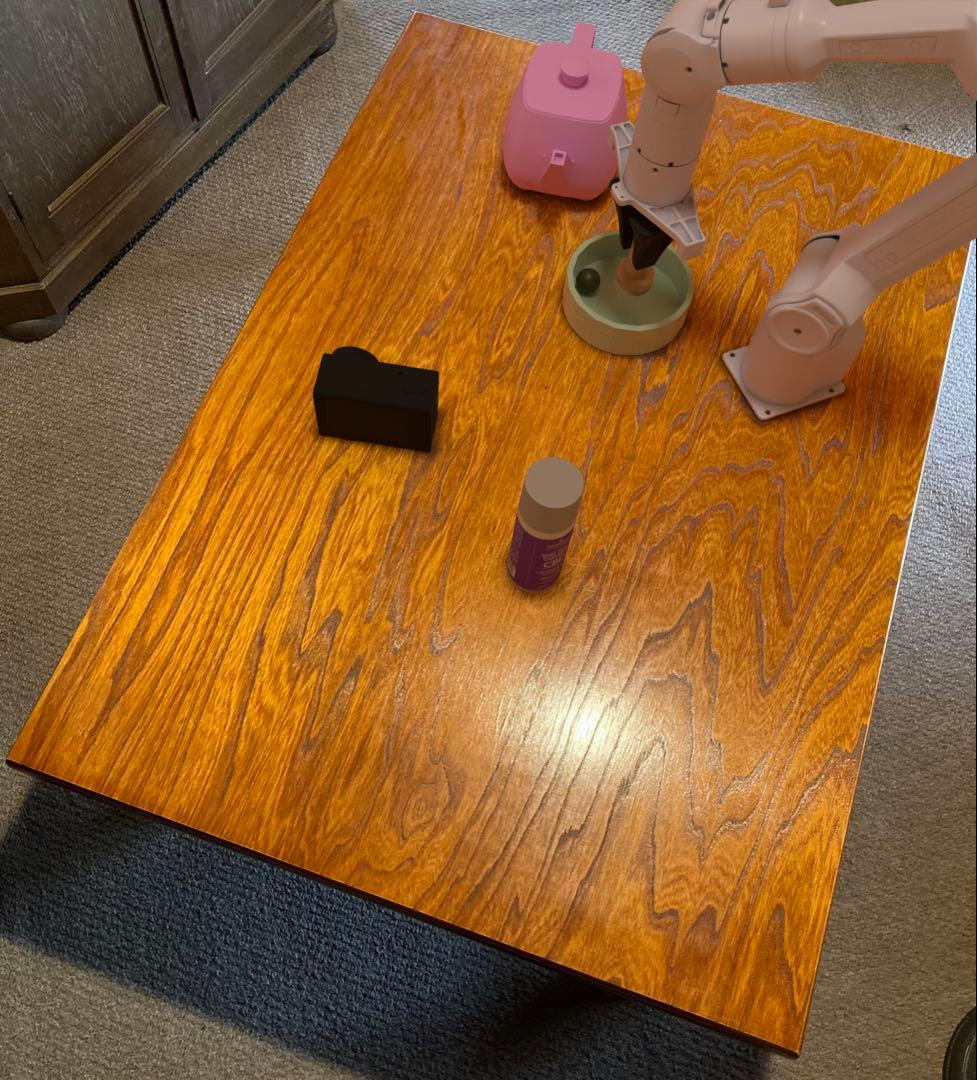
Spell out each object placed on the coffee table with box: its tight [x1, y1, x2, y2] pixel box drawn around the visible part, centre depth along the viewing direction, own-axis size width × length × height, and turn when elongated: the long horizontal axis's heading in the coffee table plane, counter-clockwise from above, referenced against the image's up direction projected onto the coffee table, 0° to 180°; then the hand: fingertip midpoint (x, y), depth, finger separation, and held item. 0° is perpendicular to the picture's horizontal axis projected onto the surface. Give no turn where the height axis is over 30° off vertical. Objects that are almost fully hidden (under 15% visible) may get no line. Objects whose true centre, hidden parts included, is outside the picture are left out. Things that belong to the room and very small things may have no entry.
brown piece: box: [615, 212, 655, 296], centre depth 99 cm, size 4×4×9 cm
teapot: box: [502, 21, 628, 202], centre depth 108 cm, size 20×12×13 cm, turn 169°
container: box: [506, 456, 585, 594], centre depth 87 cm, size 5×5×15 cm
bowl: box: [562, 229, 696, 356], centre depth 105 cm, size 12×12×4 cm
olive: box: [576, 268, 601, 293], centre depth 105 cm, size 2×2×2 cm
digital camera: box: [312, 345, 440, 453], centre depth 96 cm, size 10×5×7 cm, turn 81°
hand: (637, 254), depth 100 cm, fingers closed on brown piece, 2 cm apart
